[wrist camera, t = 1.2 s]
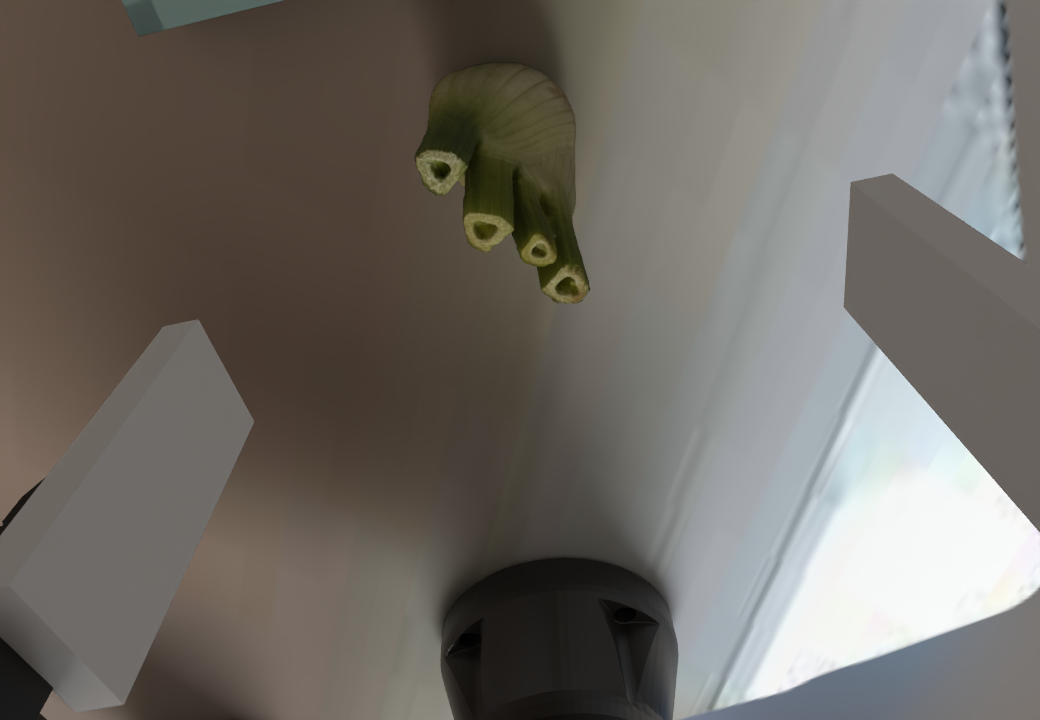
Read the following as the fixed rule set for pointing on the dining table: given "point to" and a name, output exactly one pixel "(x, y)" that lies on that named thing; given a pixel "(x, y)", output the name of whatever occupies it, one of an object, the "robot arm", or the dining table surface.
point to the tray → (181, 12)
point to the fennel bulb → (509, 166)
